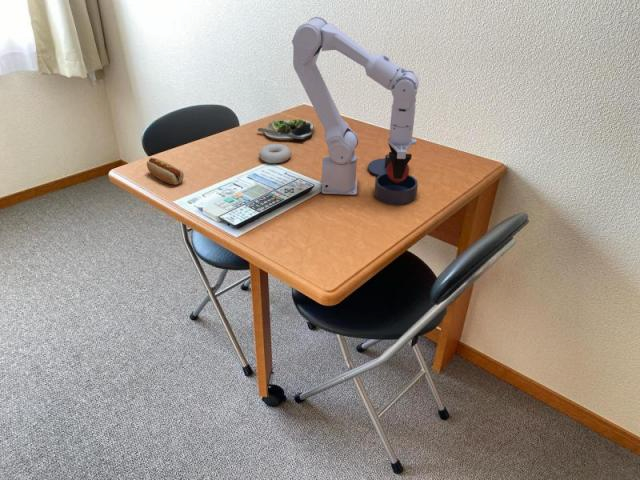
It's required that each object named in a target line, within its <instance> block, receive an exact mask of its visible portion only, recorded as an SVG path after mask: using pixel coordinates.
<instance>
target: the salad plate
mask: <svg viewBox="0 0 640 480" xmlns="http://www.w3.org/2000/svg"><path fill="white" fill-rule="evenodd" d="M314 127H315V126H314V124H313V122H311V121H309V120H304V119H293V120H292V119H291V120H285V119H283V120H282V119H278V120H273V121H271V122H269V123H268V124H267V126H266V128H262V127H257V129H256V131H257V132H260V133H263V134H264V135H265V136H267V137H269V138H270V139H272V140H275V141H285V142H286V141H287V142H288V141H289V142H302V141H306V140H310V139H311V137H312V136H313V134H314Z"/></svg>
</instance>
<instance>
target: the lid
mask: <svg viewBox="0 0 640 480" xmlns="http://www.w3.org/2000/svg"><path fill="white" fill-rule="evenodd" d="M390 162H391V160H390V157H389V153H387V154H386V155H385V156H384V157H383V158H377V159H374V160H372V161H370V162H369V163H368V164H367V169H368V171H369V172H370V173H371V174H373V175H375V176H377V177H378V176H379V175H381V174H384V173H387V171H386V170H387V166H388V165H389V163H390ZM408 167H409V168H410V166H409V165H408Z"/></svg>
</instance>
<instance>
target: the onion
mask: <svg viewBox="0 0 640 480" xmlns="http://www.w3.org/2000/svg"><path fill="white" fill-rule="evenodd" d="M408 166H409V164H407V166H406V168H405V171H404V174H403V177H402V179H395V178H394V176H393V166H392V162H390V163H389V165H388V166H387V170H386V171H387V175H388V177H389V178H390V179H391V180H392V181H393V182H395V183H397V184H398V183H400V182H401V181H403V180H404V179H406V177H407V176H408V175H410V174H409V173H410V166H409V167H408Z"/></svg>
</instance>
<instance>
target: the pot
mask: <svg viewBox="0 0 640 480" xmlns="http://www.w3.org/2000/svg"><path fill="white" fill-rule="evenodd" d="M418 185H419V183H418V179H416V178H415V176H412V175H410V174H408V176H407V177H406V179H404V180H403V181H401V182H400V183H398V184H397V183H395V182H393V181H392V180H391V179H390V178H389V177H388V175H387V173H384V174H381V175H379V176H377V177H375V180H374V196H375V198H376V199H377V200H378V201H380V202H382V203H384V204H388V205H393V206H394V205H395V206H401V205H407V204H410V203H412V202H413V201H415V200H416V198H417V195H418V194H417V193H418Z"/></svg>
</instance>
